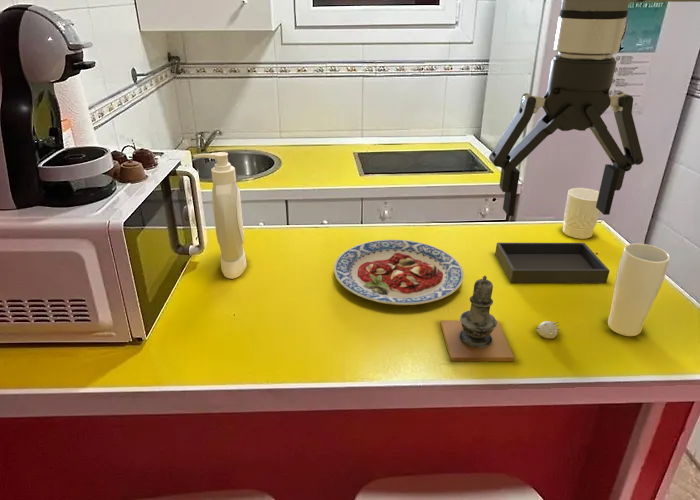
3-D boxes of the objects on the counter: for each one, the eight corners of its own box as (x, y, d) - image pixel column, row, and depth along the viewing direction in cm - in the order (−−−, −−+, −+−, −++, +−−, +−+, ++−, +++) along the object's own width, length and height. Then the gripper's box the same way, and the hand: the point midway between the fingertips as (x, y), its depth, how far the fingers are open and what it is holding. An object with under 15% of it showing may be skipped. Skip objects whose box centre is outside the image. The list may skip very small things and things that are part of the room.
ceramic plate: (405, 238, 121) (406, 226, 119) (490, 286, 102) (492, 273, 101) (310, 268, 108) (309, 255, 106) (386, 330, 89) (387, 316, 88)
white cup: (555, 225, 128) (563, 187, 123) (587, 226, 128) (597, 188, 123) (565, 239, 121) (574, 199, 116) (600, 240, 121) (610, 200, 116)
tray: (581, 254, 114) (584, 242, 113) (606, 283, 104) (609, 270, 102) (494, 254, 114) (496, 242, 113) (510, 283, 103) (513, 270, 102)
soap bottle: (212, 253, 113) (197, 144, 102) (248, 252, 114) (237, 143, 103) (205, 284, 102) (188, 165, 91) (245, 282, 103) (233, 163, 91)
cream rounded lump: (562, 338, 87) (565, 325, 86) (539, 340, 87) (542, 327, 86) (552, 327, 90) (555, 315, 89) (531, 329, 90) (533, 316, 89)
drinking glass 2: (608, 338, 88) (632, 260, 81) (597, 315, 93) (618, 241, 87) (651, 342, 87) (678, 264, 80) (637, 319, 93) (661, 244, 86)
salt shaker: (497, 348, 84) (509, 285, 78) (461, 348, 84) (470, 285, 78) (489, 327, 89) (499, 266, 83) (454, 327, 89) (462, 266, 83)
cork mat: (497, 324, 91) (497, 320, 91) (513, 361, 82) (514, 357, 82) (440, 324, 91) (440, 320, 90) (450, 361, 82) (451, 357, 82)
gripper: (667, 50, 68) (628, 200, 78) (477, 52, 68) (463, 202, 78) (702, 57, 61) (655, 221, 71) (492, 60, 61) (474, 223, 71)
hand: (555, 211), depth 75 cm, fingers open, 13 cm apart
